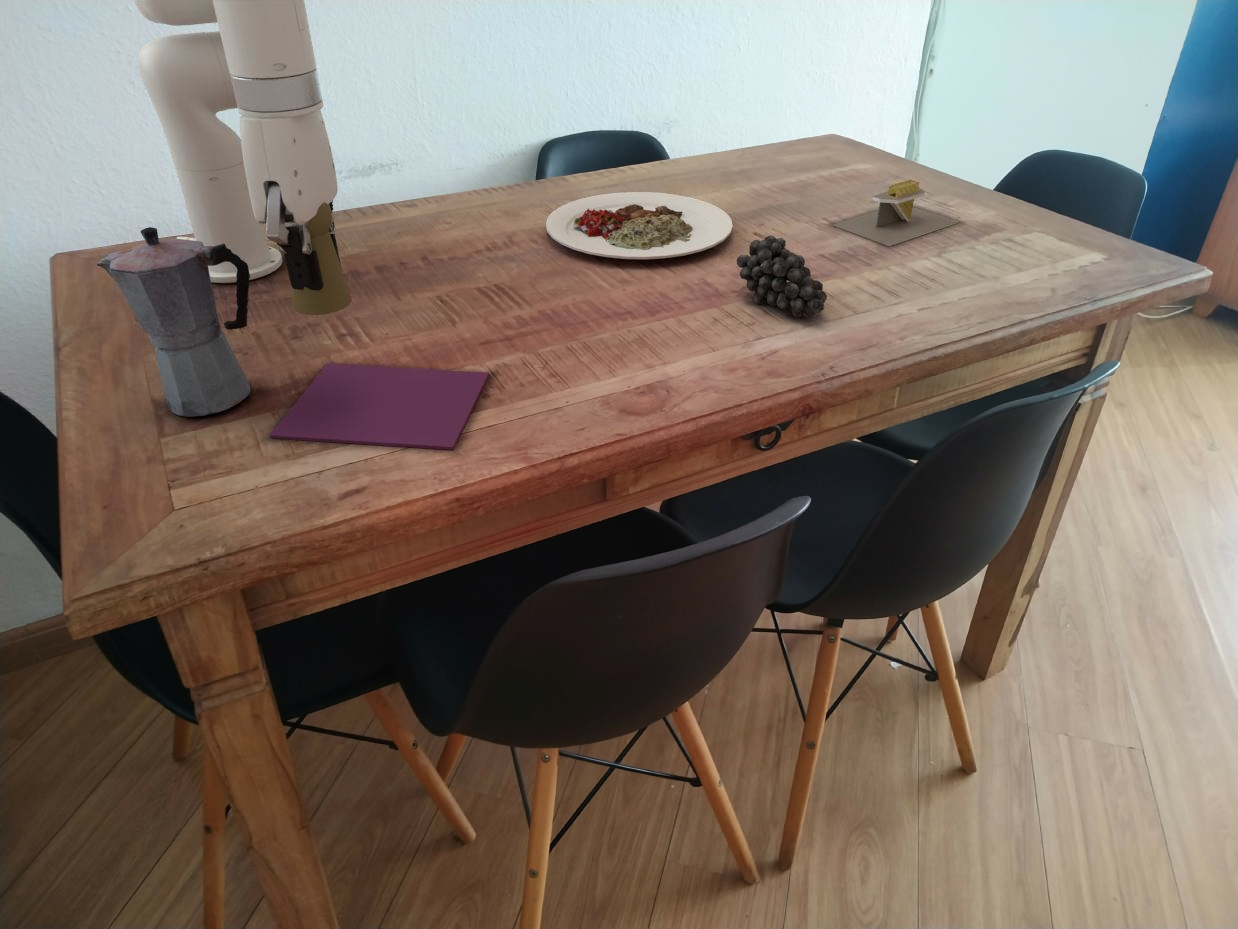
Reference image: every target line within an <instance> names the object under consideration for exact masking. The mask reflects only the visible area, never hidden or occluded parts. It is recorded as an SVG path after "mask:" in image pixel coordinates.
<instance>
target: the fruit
mask: <svg viewBox="0 0 1238 929" xmlns="http://www.w3.org/2000/svg"><path fill="white" fill-rule="evenodd" d="M786 244H787V243H786V239H784V238H782V237H779V238H776V237H775V235H767V236H766V237H764V239H762V240H760V239H755V240H753V241H751V242H750V243H749V249H748V251H749V252H748V254H740V255H739V256H738V257H736V265H737V266H738V267H739V268H741V270H740V271H739V277H740V279H742V280H745V281H746V288H747V289H748V290H749V291H750V292H753V294H752V296H751V297H752V301H753V303H756V304H757V305H761V304H764V303H765V302H766V303H767V304H768V305H769V306H777V307H778V308H779V309H780V310H787V309H789V308H790V310H791V313H792V316H793V317H795V318H797V319H798V318H799V319H800V318H802V317H803V316H804V317H805V318H806V319H812V318H814V317H816V316H817V315H818V314H820V313H822V312H823V311H824V310H825V303H826V301H827V298H828V295H827V293H826V292H825V291H824V284H823V283H822V282H820V280H816V279H813V278H812V276H811V275H812V274H811V270H810V268H809V267H807V266H805V265H806V260H805V258H804V257H803V255H800V254H796V253H795V252H793V251H791V250H789V249H787V248H786V246H787V245H786ZM787 281H788V282H787Z"/></svg>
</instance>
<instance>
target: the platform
mask: <svg viewBox="0 0 1238 929" xmlns="http://www.w3.org/2000/svg"><path fill="white" fill-rule="evenodd" d="M925 193H926V191H925V190H924V189H922V188H921V187H920V181H918V180H916V179H911V178H910V179H907V180H903V181H900V182H896V183H894V184H890V185H888V189H887V191H885V192H881V193H878V194H875V195H873V196H872V201H874V202H877V203H879V205H878V210H876V211H872V212H870V213H866V214H862V215H860V216H857V217H853V218H850V219H847V220H844V221H840V222H837V223H833V224H832V226H834V227H836V228H839V229H841V230H844V231H847V232H849V233H852V234H855V235H858V236H860V237H862V238H865V239H868V240H870V241H874V242H877V243H879V244H881V245H885V246H887V247H892V246H895V245H898V244H901V243H903V242H906V241H910V240H912V239H916V238H918V237H921V236H924V235H927V234H930V233H932V232H936V231H938V230H942V229H945V228H947V227H950V226H954V225H956V224H959V223H960V222H959V221H958V220H954V219H951V218H948V217H946V216H942V215H939V214H936V213H933V212H929V211H927V210H924V209H920V208H917V207H914V203H915V199H918V198H921V197H924V196H925Z"/></svg>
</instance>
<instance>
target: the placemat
mask: <svg viewBox="0 0 1238 929" xmlns="http://www.w3.org/2000/svg"><path fill="white" fill-rule="evenodd" d="M489 377H490V372H485V371H484V372H483V371H469V370H468V371H466V370H451V369H450V370H449V369H434V368H433V369H430V368H413V367H395V366H379V365H378V366H376V365H361V364H360V365H358V364H341V363H326V364H325V366H324V367H323V368H322V369H321V371H320V372H319V373H318V374H317V376H316V377H315V378H314V379H313V381H311V383H310V384H309V385H308V387H307V388H306V389H305V390H304V391H303V393H302V394H301V396H299V398H298V399H297V400H296V402H294V404H293V405H292V406H291V408H290V409H289V410H288V411H287V412H286V414H285V415H284V416H283V418H282V419H281V420H280V422H278V424H277V425H276V426H275V428H274V429H273V430H272V431H271V433H270V434H269V438H270V439H278V440H294V441H306V442H307V441H309V442H323V443H339V444H355V445H356V444H357V445H369V446H387V447H400V448H401V447H402V448H418V449H433V450H446V451H454V449H455V447H456V445H457V444H458V441H459V439H460V437H461V436H462V433H463V431H464V429H465V426H466V424H467V422H468V421H469V418H470V416H471V414H472V412H473V410H474V408H475V406H476V404H477V402H478V400H479V398H480V396H481V393H482V392H483V390H484V388H485V385H486V384H487V381H488V379H489Z"/></svg>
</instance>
